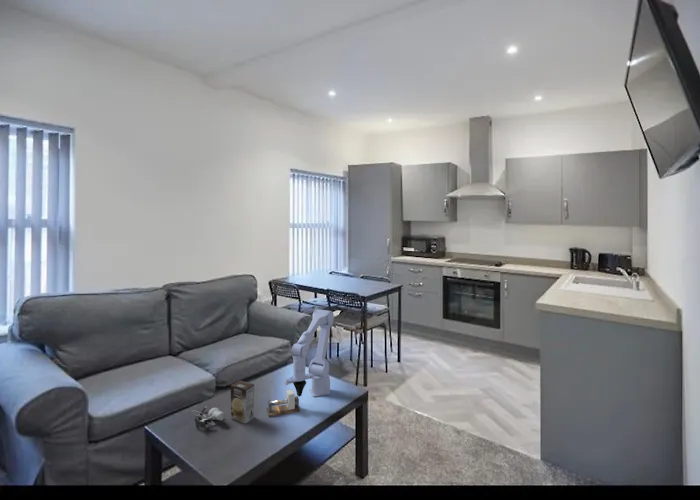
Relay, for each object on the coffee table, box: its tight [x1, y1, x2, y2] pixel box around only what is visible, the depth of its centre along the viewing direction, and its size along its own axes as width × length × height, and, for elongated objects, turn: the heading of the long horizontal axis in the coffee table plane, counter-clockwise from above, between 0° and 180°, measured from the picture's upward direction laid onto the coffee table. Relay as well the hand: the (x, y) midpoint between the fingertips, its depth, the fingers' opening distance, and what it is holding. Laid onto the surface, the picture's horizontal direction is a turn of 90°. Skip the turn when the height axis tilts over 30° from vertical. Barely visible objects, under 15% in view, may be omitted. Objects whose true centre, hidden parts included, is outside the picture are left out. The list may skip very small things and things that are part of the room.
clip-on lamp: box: [191, 406, 226, 429], centre depth 170 cm, size 12×6×18 cm
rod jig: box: [266, 395, 301, 418], centre depth 180 cm, size 15×7×6 cm, turn 111°
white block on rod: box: [285, 388, 296, 410], centre depth 181 cm, size 3×5×7 cm, turn 21°
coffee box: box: [230, 379, 255, 424], centre depth 173 cm, size 9×6×16 cm
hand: (299, 395), depth 183 cm, fingers closed
